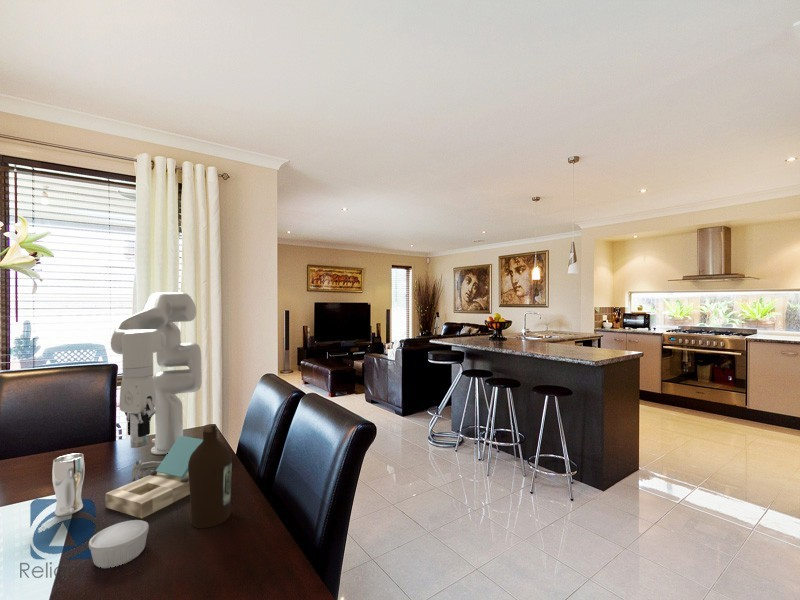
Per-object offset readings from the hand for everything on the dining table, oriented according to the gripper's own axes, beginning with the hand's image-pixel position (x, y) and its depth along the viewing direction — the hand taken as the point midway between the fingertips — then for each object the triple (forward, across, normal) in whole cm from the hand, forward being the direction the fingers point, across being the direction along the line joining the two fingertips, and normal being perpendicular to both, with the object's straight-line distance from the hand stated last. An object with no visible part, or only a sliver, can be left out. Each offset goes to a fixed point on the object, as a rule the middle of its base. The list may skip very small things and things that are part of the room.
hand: (138, 434), depth 114 cm
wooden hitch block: (+20, +2, +5) cm, 21 cm away
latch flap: (+11, +2, +12) cm, 17 cm away
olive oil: (+20, +28, +2) cm, 35 cm away
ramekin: (+20, +22, -18) cm, 34 cm away
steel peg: (+3, 0, 0) cm, 3 cm away
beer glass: (+20, -14, -11) cm, 27 cm away
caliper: (+20, -15, +18) cm, 31 cm away
